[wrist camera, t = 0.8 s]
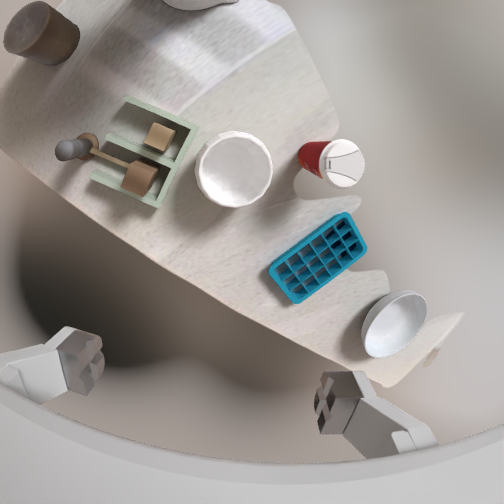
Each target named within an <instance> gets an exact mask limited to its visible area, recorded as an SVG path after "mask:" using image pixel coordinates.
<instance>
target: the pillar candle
mask: <svg viewBox="0 0 504 504" xmlns="http://www.w3.org/2000/svg"><path fill="white" fill-rule="evenodd" d="M79 39H80V31H79V28H78V26H77V25H75V24H73V23H72V22H71V21H70V20H68V19H67V18H65V17H64V16H63V15H62V14H61V13H59V12H58V11H56V10H55V9H54V8H52V7H51V6H50V5H48V4H47V3H45V2H42V1H36V2H32V3H30V4H28V5H26V6H24V7H23V8H22V9H21V10H20V11H19V12H17V14H16V15H15V16H14V17H13V18H12V20H11V21H10V23H9V24H8V25H7V28H6V30H5V33H4V41H3V42H4V47H5V49H6V50H7V51H8V52H9V53H13V54H17V55H19V56H23V57H25V58H29V59H31V60H34V61H37V62H40V63H43V64H46V65H56V64H59V63H61V62H63V61H64V60H66V59H67V58H68V57H69V56H70V55H71V54H72V53H73V51H74V50H75V49H76V47H77V45H78V42H79Z"/></svg>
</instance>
